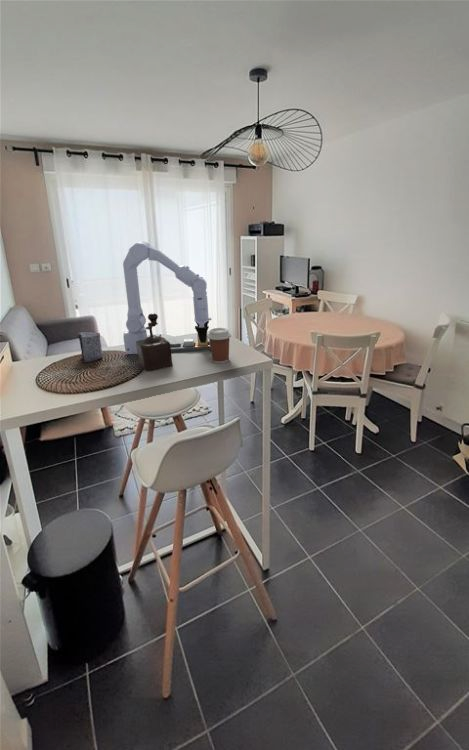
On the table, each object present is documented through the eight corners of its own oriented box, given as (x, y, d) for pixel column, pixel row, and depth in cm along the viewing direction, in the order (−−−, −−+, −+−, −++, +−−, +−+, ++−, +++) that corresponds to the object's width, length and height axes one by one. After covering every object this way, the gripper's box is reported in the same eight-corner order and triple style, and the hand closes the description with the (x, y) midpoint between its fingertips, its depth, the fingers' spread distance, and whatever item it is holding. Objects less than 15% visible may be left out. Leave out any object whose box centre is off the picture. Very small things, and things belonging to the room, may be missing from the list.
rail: (165, 352, 150) (164, 348, 149) (167, 347, 156) (166, 343, 156) (212, 350, 151) (212, 346, 150) (212, 344, 157) (212, 341, 157)
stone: (78, 367, 142) (77, 353, 149) (104, 367, 147) (102, 353, 154) (78, 342, 136) (77, 328, 143) (106, 342, 140) (103, 329, 147)
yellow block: (198, 349, 152) (197, 333, 149) (198, 346, 155) (197, 331, 153) (208, 349, 152) (206, 333, 149) (208, 346, 156) (207, 330, 153)
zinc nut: (184, 350, 152) (183, 341, 150) (185, 347, 155) (184, 338, 154) (194, 350, 152) (193, 341, 150) (194, 347, 155) (193, 338, 154)
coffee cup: (224, 354, 145) (223, 325, 140) (236, 360, 137) (235, 330, 133) (204, 359, 140) (202, 329, 136) (216, 366, 133) (214, 335, 128)
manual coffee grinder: (175, 365, 135) (169, 318, 128) (146, 372, 130) (139, 323, 123) (161, 354, 148) (156, 311, 141) (134, 360, 143) (127, 315, 136)
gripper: (210, 311, 141) (212, 344, 146) (210, 304, 154) (212, 334, 159) (192, 312, 140) (195, 345, 145) (194, 304, 154) (196, 335, 159)
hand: (203, 339), depth 152 cm, fingers open, 7 cm apart
